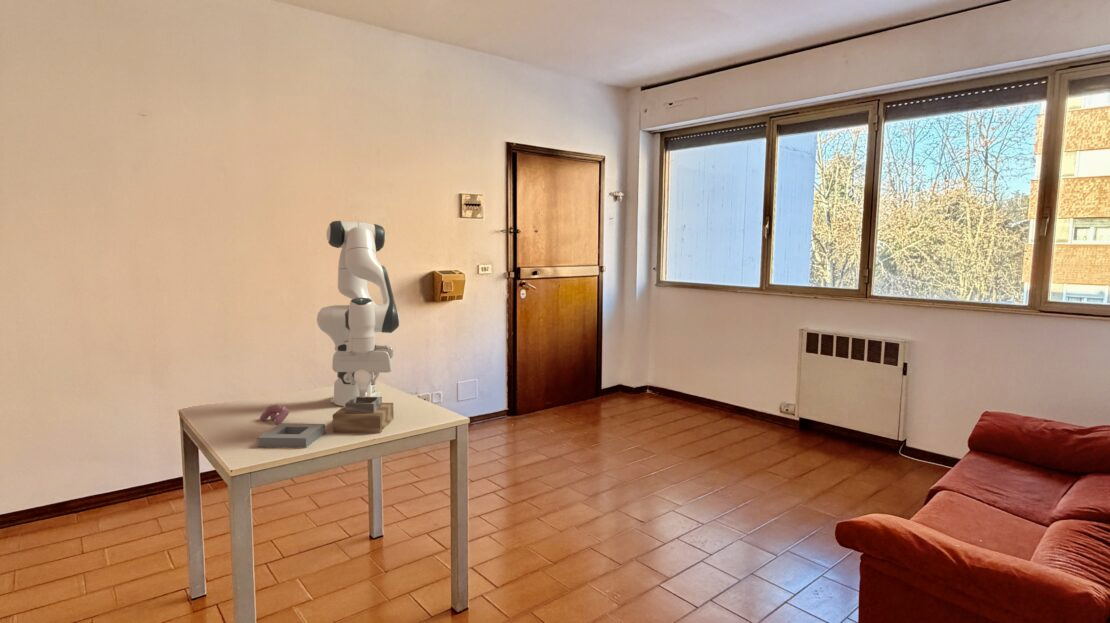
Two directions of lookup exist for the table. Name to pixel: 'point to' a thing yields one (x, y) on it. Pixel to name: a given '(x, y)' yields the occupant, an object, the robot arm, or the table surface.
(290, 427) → the low socket block
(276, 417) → the video game controller
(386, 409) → the raised socket stand
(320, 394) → the table surface
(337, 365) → the robot arm
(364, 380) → the lightbulb
